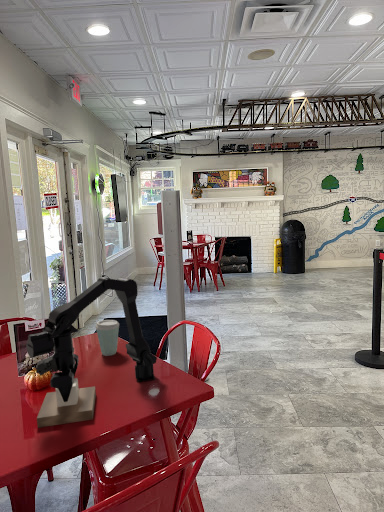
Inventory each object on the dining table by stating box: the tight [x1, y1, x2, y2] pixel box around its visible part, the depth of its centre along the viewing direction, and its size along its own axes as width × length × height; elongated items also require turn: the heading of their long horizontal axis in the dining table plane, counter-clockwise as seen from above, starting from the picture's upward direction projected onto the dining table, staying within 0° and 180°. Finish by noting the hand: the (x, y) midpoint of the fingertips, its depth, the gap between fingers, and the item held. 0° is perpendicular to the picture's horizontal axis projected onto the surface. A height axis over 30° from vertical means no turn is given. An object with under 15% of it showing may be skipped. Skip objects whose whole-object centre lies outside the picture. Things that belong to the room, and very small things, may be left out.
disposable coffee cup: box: [95, 319, 120, 357], centre depth 163 cm, size 11×11×15 cm
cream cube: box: [55, 377, 79, 407], centre depth 116 cm, size 6×6×6 cm
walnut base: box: [36, 386, 97, 428], centre depth 116 cm, size 16×16×3 cm
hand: (67, 394), depth 116 cm, fingers open, 9 cm apart
